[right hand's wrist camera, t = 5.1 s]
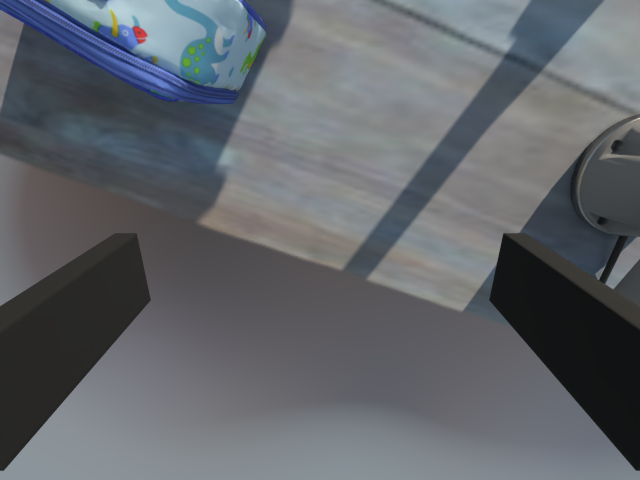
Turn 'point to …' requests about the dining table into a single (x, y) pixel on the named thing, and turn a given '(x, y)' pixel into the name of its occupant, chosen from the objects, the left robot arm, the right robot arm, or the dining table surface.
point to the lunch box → (156, 41)
